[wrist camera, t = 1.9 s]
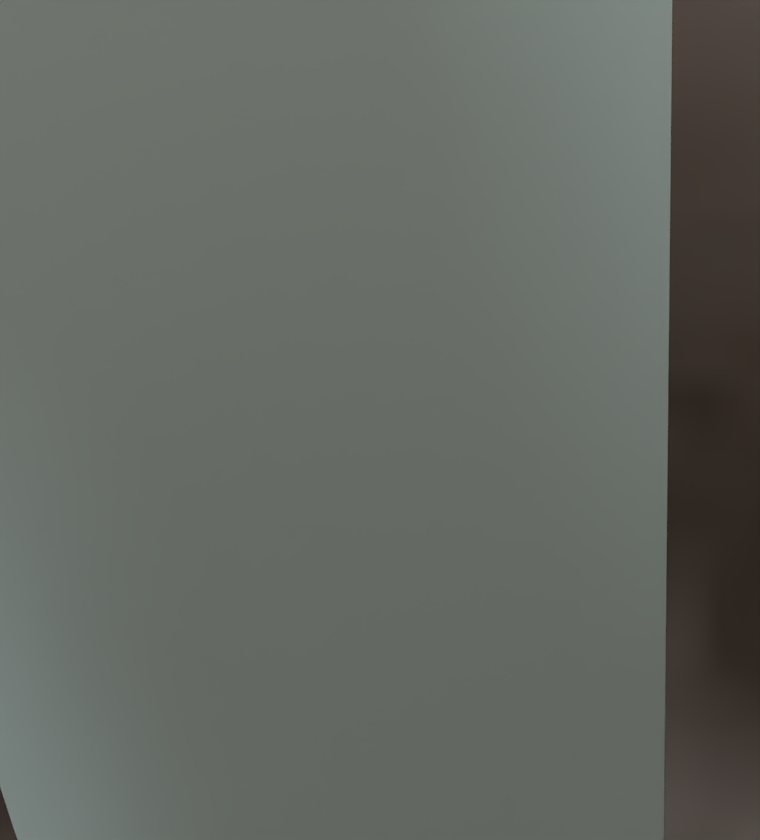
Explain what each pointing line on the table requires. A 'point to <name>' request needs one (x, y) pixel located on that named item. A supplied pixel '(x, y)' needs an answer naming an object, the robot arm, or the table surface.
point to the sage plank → (334, 418)
